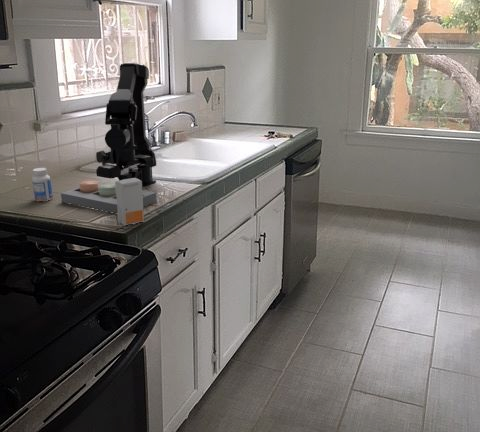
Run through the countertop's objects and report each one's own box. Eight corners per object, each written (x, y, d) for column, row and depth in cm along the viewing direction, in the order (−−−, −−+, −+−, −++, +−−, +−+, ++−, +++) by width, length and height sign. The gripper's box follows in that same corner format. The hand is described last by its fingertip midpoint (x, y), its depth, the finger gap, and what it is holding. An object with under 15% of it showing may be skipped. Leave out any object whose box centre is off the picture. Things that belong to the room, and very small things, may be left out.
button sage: (108, 193, 167) (107, 183, 166) (121, 195, 164) (121, 185, 163) (95, 197, 163) (94, 187, 161) (109, 200, 160) (108, 190, 159)
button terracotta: (89, 189, 171) (88, 179, 170) (102, 191, 168) (101, 182, 167) (76, 193, 166) (75, 184, 165) (89, 196, 164) (88, 186, 163)
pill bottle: (47, 195, 171) (43, 166, 168) (56, 198, 168) (52, 168, 164) (31, 199, 167) (27, 169, 164) (40, 203, 164) (36, 172, 160)
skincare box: (124, 227, 143) (121, 184, 139) (118, 222, 146) (114, 180, 142) (145, 222, 147) (142, 180, 143) (138, 218, 150) (135, 177, 146)
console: (97, 190, 176) (96, 181, 175) (156, 201, 164) (155, 192, 163) (61, 202, 164) (60, 193, 163) (123, 215, 152) (122, 205, 151)
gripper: (124, 134, 165) (128, 183, 170) (79, 145, 150) (85, 198, 155) (152, 138, 160) (155, 187, 165) (109, 149, 145) (113, 204, 150)
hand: (127, 194), depth 159 cm, fingers closed, pressing on button cream
